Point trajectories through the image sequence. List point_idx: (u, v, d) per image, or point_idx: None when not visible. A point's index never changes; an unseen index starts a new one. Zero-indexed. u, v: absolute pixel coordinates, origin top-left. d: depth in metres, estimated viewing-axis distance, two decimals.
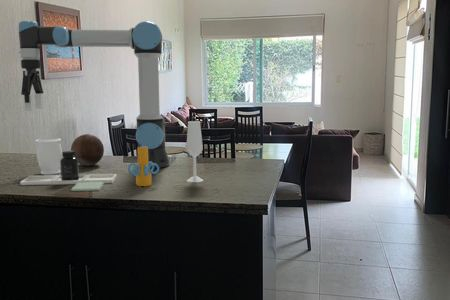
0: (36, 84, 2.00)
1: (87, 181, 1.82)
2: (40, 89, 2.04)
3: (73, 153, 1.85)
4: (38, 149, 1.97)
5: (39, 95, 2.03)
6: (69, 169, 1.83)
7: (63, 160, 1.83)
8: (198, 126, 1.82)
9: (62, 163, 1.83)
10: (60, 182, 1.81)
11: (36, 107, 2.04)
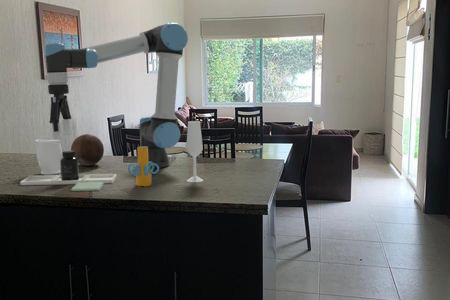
0: (64, 110, 1.87)
1: (87, 181, 1.82)
2: (68, 114, 1.90)
3: (73, 153, 1.85)
4: (38, 149, 1.97)
5: (67, 121, 1.90)
6: (69, 169, 1.83)
7: (63, 160, 1.83)
8: (198, 126, 1.82)
9: (62, 163, 1.83)
10: (60, 182, 1.81)
11: (64, 134, 1.91)
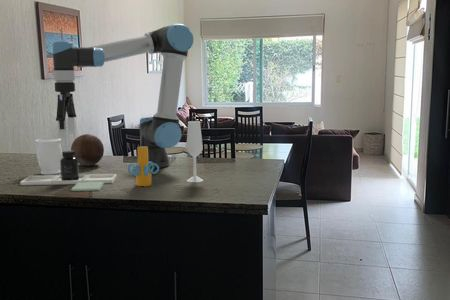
0: (69, 108, 1.87)
1: (87, 181, 1.82)
2: (73, 113, 1.90)
3: (73, 153, 1.85)
4: (38, 149, 1.97)
5: (72, 119, 1.90)
6: (69, 169, 1.83)
7: (63, 160, 1.83)
8: (198, 126, 1.82)
9: (62, 163, 1.83)
10: (60, 182, 1.81)
11: (69, 132, 1.91)
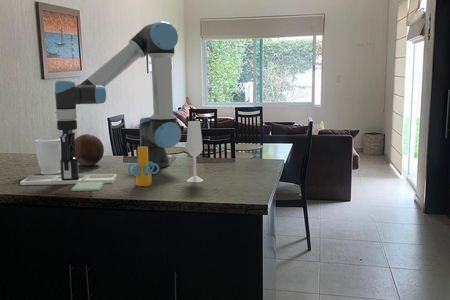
0: (71, 146, 1.88)
1: (87, 181, 1.82)
2: None
3: (73, 153, 1.85)
4: (38, 149, 1.97)
5: None
6: None
7: None
8: (198, 126, 1.82)
9: (62, 163, 1.83)
10: (60, 182, 1.81)
11: None
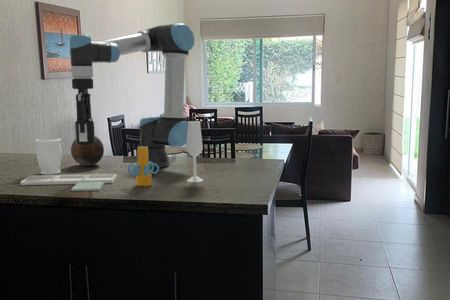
0: (86, 108, 1.74)
1: (87, 181, 1.82)
2: None
3: (89, 114, 1.71)
4: (38, 149, 1.97)
5: None
6: None
7: None
8: (198, 126, 1.82)
9: (77, 125, 1.70)
10: (60, 182, 1.81)
11: None
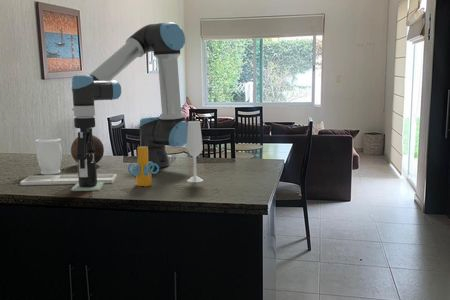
0: (89, 143, 1.78)
1: None
2: (92, 148, 1.81)
3: (91, 156, 1.74)
4: (38, 149, 1.97)
5: None
6: (87, 173, 1.72)
7: None
8: (198, 126, 1.82)
9: None
10: (60, 182, 1.81)
11: None
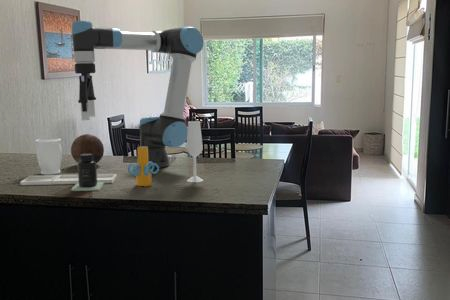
0: (89, 90, 1.82)
1: None
2: (93, 95, 1.85)
3: (91, 156, 1.74)
4: (38, 149, 1.97)
5: (92, 102, 1.85)
6: (87, 173, 1.72)
7: (81, 164, 1.72)
8: (198, 126, 1.82)
9: (80, 167, 1.72)
10: (60, 182, 1.81)
11: (89, 115, 1.86)
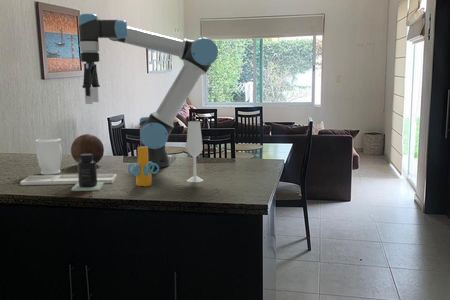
0: (94, 77, 1.99)
1: None
2: (97, 83, 2.03)
3: (91, 156, 1.74)
4: (38, 149, 1.97)
5: (96, 89, 2.02)
6: (87, 173, 1.72)
7: (81, 164, 1.72)
8: (198, 126, 1.82)
9: (80, 167, 1.72)
10: (60, 182, 1.81)
11: (93, 101, 2.03)
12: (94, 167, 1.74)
